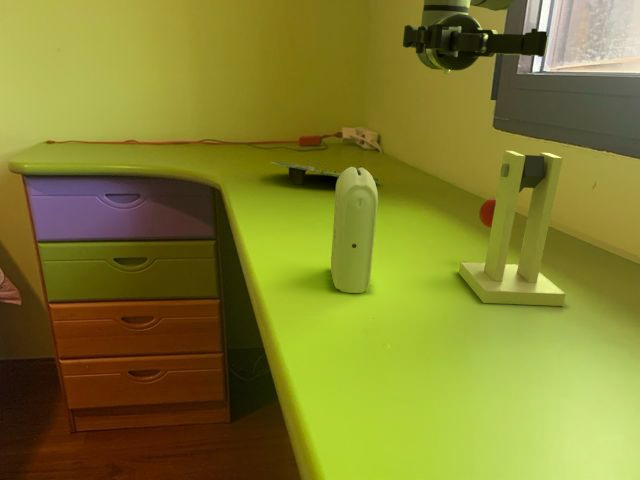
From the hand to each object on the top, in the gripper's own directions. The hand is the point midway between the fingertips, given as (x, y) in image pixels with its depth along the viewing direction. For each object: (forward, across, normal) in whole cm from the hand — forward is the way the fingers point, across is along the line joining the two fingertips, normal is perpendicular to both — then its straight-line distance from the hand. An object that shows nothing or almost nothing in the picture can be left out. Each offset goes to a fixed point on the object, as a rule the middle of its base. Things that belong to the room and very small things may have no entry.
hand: (490, 39), depth 89 cm
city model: (-50, +17, -26) cm, 59 cm away
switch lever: (+19, 0, -18) cm, 26 cm away
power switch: (+23, 0, -26) cm, 35 cm away
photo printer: (+22, +18, -26) cm, 39 cm away
